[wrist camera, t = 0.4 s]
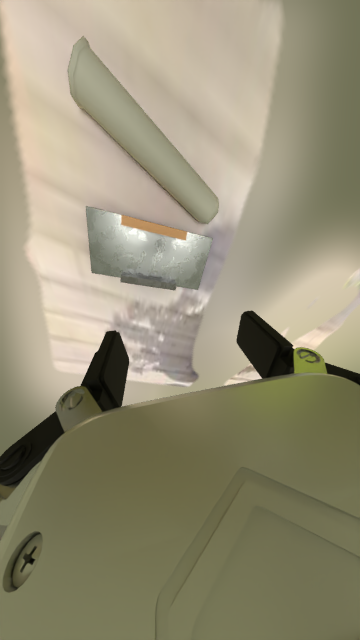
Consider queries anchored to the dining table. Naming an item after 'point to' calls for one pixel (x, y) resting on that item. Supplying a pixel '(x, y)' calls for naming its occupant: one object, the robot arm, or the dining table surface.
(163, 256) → the galvanized metal plate
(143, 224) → the bar
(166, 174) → the tube
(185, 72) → the dining table surface
